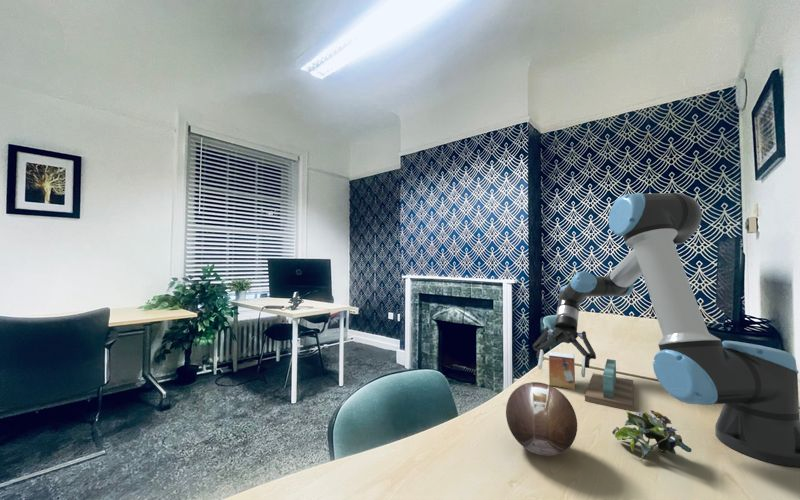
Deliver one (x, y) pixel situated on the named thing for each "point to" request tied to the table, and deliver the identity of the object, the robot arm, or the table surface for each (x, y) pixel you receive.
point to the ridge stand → (610, 388)
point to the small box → (562, 370)
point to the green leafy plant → (650, 432)
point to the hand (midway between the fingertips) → (560, 371)
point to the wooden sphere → (541, 419)
